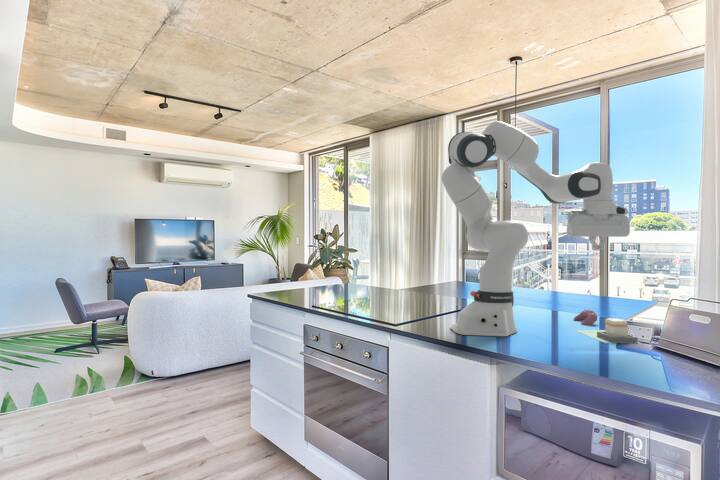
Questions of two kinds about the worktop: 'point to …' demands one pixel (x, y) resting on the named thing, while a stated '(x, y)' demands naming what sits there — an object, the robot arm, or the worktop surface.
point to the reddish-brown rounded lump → (586, 317)
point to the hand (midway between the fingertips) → (597, 250)
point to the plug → (616, 327)
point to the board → (608, 337)
